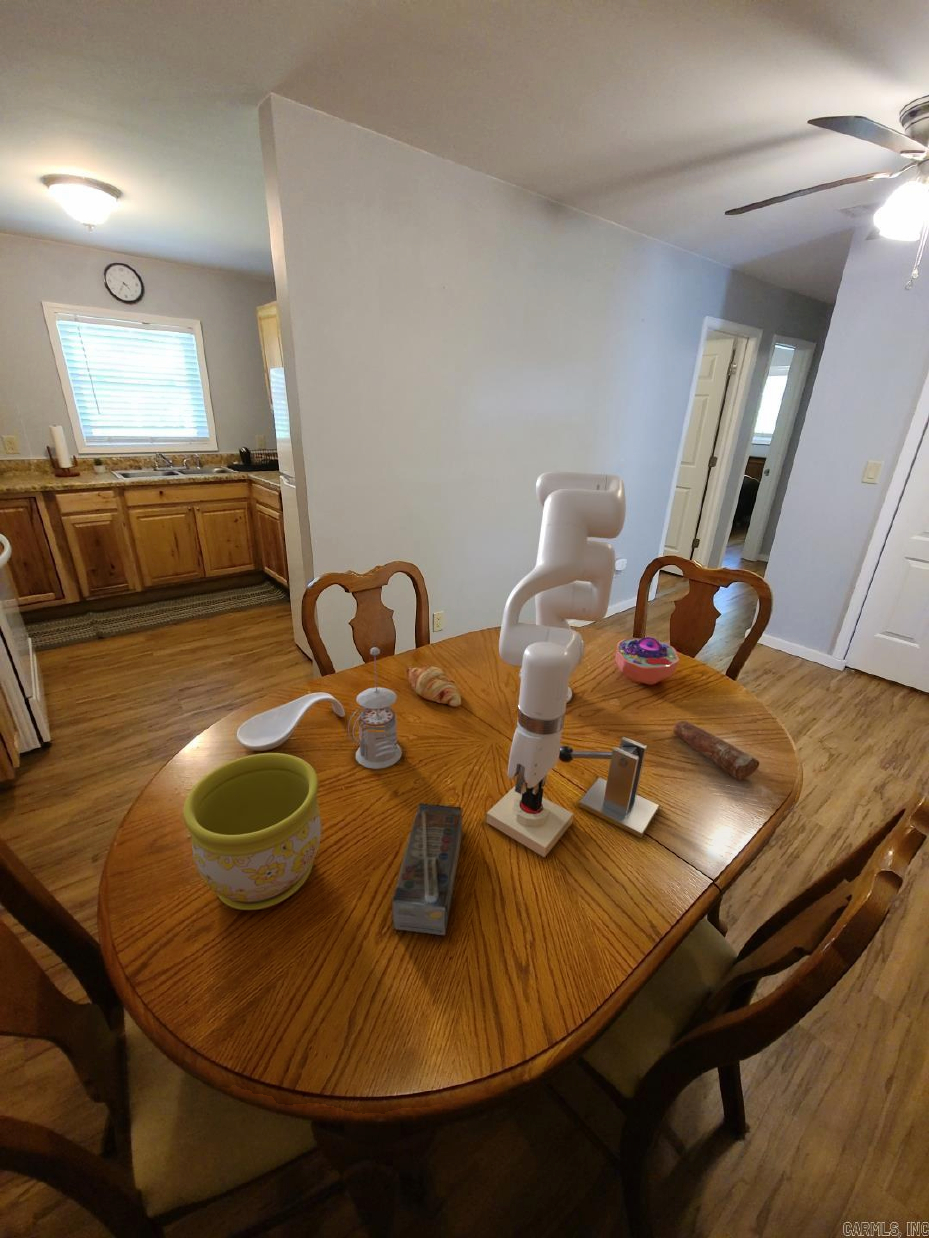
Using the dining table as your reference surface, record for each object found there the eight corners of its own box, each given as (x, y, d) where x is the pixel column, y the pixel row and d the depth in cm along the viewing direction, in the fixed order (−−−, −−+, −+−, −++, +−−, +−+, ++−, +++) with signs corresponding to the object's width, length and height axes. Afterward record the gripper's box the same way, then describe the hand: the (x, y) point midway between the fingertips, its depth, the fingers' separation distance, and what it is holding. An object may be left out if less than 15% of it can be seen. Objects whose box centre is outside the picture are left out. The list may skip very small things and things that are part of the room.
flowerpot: (291, 940, 69) (279, 850, 62) (174, 915, 71) (150, 827, 65) (343, 839, 85) (337, 760, 79) (246, 822, 88) (233, 744, 81)
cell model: (600, 682, 139) (606, 645, 135) (624, 656, 154) (630, 623, 150) (663, 702, 130) (671, 663, 126) (681, 673, 145) (689, 637, 141)
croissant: (467, 717, 127) (479, 688, 126) (441, 714, 119) (454, 683, 119) (415, 683, 140) (425, 657, 140) (389, 679, 133) (400, 651, 132)
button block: (486, 822, 90) (487, 804, 88) (516, 792, 97) (517, 776, 95) (544, 857, 83) (546, 839, 81) (572, 822, 90) (574, 805, 89)
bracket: (578, 806, 94) (587, 745, 89) (598, 781, 101) (608, 723, 96) (641, 838, 87) (655, 775, 82) (658, 809, 94) (672, 749, 89)
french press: (411, 753, 107) (410, 648, 97) (367, 779, 99) (361, 667, 89) (382, 734, 113) (379, 633, 103) (338, 757, 105) (330, 650, 96)
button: (516, 812, 89) (517, 805, 88) (527, 801, 91) (527, 794, 91) (533, 822, 87) (534, 815, 86) (544, 811, 89) (545, 803, 89)
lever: (557, 765, 98) (552, 750, 98) (564, 757, 101) (560, 742, 100) (634, 768, 88) (630, 752, 87) (641, 760, 90) (636, 743, 90)
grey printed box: (390, 930, 70) (388, 897, 68) (418, 827, 88) (417, 798, 85) (446, 938, 69) (446, 905, 67) (462, 833, 87) (464, 803, 85)
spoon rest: (252, 767, 101) (247, 737, 98) (230, 740, 109) (225, 712, 106) (353, 723, 117) (352, 696, 114) (327, 702, 124) (325, 677, 122)
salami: (737, 787, 101) (744, 764, 99) (667, 734, 117) (671, 714, 115) (759, 779, 103) (766, 757, 101) (687, 728, 119) (692, 708, 117)
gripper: (543, 691, 89) (534, 774, 96) (495, 727, 78) (489, 818, 85) (582, 706, 85) (569, 792, 92) (537, 747, 74) (527, 841, 81)
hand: (531, 804), depth 88 cm, fingers closed
